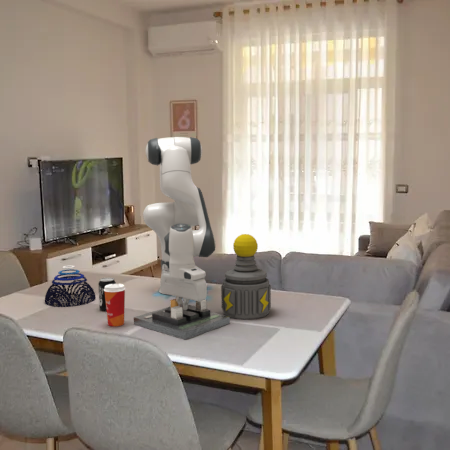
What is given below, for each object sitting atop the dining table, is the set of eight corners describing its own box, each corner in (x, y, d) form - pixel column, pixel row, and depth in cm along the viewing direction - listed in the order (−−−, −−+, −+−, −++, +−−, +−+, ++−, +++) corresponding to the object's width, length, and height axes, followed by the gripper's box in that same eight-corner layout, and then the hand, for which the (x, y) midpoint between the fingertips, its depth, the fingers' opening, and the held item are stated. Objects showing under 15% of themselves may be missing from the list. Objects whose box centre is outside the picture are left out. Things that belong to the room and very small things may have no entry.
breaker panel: (178, 310, 216) (178, 290, 214) (229, 323, 198) (229, 301, 197) (133, 324, 199) (133, 302, 198) (185, 339, 182) (184, 315, 181)
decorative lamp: (245, 303, 225) (244, 229, 221) (281, 312, 211) (281, 233, 207) (210, 313, 212) (209, 234, 208) (247, 323, 198) (246, 239, 194)
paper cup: (106, 321, 203) (104, 283, 201) (127, 320, 204) (126, 282, 202) (103, 328, 195) (101, 288, 194) (126, 327, 196) (124, 288, 194)
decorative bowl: (34, 304, 228) (32, 270, 226) (65, 293, 246) (63, 260, 244) (75, 309, 220) (73, 273, 218) (104, 296, 239) (102, 263, 237)
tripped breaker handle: (176, 307, 202) (176, 298, 201) (181, 309, 200) (181, 299, 200) (170, 309, 200) (170, 300, 199) (175, 310, 198) (175, 301, 198)
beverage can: (112, 312, 215) (111, 281, 213) (96, 311, 216) (95, 280, 215) (119, 307, 221) (118, 277, 220) (103, 306, 223) (102, 277, 221)
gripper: (155, 268, 200) (156, 306, 202) (196, 276, 187) (197, 316, 189) (168, 265, 205) (169, 302, 207) (209, 273, 192) (210, 312, 194)
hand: (183, 309), depth 198 cm, fingers closed
